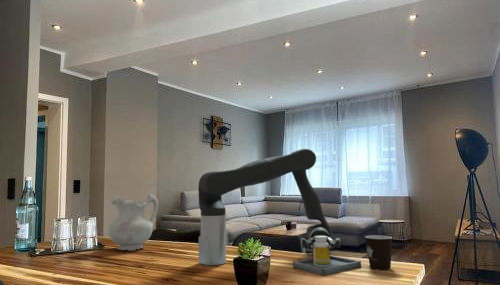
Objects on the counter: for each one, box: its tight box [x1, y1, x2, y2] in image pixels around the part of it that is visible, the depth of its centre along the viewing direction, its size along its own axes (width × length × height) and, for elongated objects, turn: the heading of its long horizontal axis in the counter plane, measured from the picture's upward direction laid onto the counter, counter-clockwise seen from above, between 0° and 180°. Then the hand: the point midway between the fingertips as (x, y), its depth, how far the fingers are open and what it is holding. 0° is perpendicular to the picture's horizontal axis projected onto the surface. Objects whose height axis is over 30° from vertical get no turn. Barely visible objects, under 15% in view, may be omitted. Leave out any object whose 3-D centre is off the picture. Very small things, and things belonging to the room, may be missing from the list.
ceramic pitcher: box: [108, 194, 159, 251], centre depth 168 cm, size 22×20×25 cm
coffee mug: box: [364, 234, 393, 271], centre depth 121 cm, size 12×9×10 cm
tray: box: [292, 254, 362, 276], centre depth 121 cm, size 18×14×2 cm
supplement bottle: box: [312, 236, 331, 267], centre depth 121 cm, size 5×5×10 cm
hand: (321, 246), depth 119 cm, fingers open, 6 cm apart
